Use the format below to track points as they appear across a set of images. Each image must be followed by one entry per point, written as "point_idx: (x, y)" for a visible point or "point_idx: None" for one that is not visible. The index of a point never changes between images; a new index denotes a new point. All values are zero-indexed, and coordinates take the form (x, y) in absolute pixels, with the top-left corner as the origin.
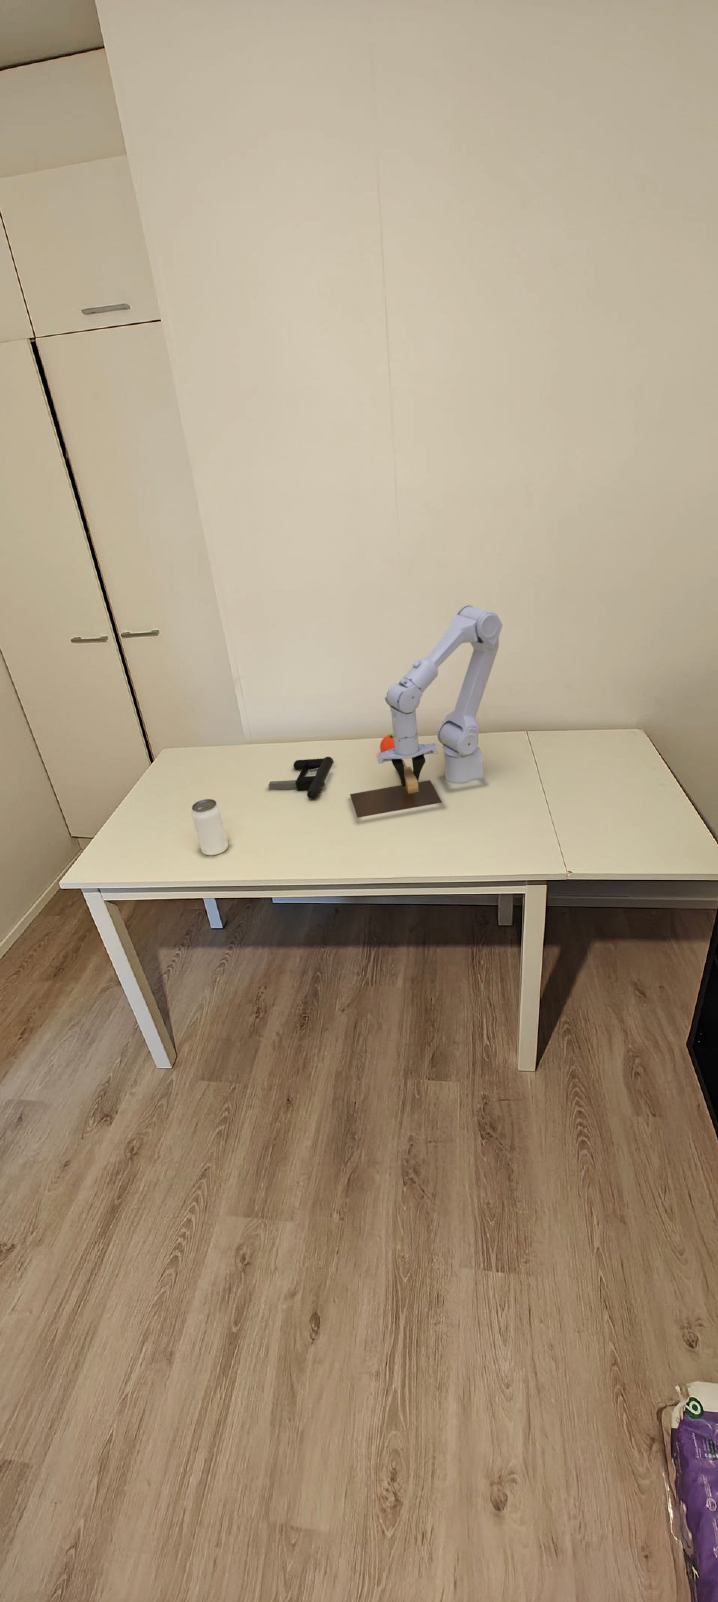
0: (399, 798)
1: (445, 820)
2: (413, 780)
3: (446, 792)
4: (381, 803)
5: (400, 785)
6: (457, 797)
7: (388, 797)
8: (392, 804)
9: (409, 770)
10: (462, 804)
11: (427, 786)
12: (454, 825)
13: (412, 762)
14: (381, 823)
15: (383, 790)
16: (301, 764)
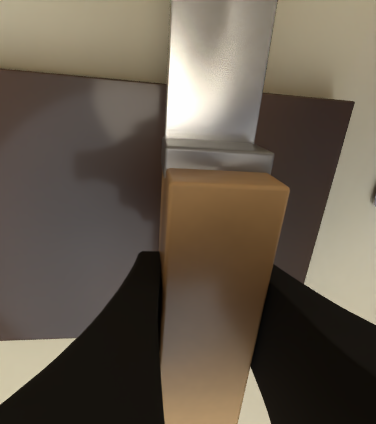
0: (116, 243)
1: (250, 378)
2: (210, 418)
3: (356, 207)
4: (3, 259)
5: (160, 88)
6: (368, 261)
7: (53, 212)
8: (67, 285)
9: (245, 269)
10: (352, 310)
11: (304, 175)
12: (262, 404)
13: (332, 359)
14: (8, 347)
15: (27, 108)
16: None
